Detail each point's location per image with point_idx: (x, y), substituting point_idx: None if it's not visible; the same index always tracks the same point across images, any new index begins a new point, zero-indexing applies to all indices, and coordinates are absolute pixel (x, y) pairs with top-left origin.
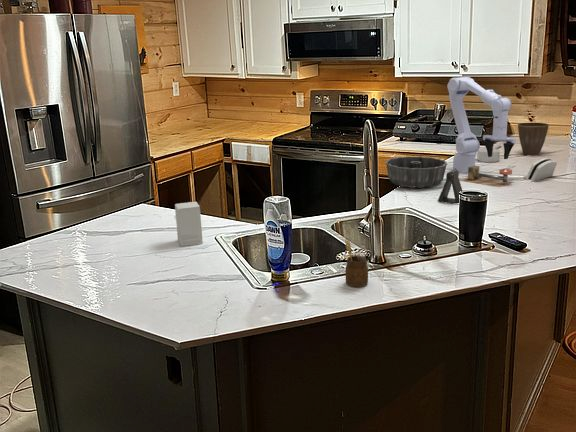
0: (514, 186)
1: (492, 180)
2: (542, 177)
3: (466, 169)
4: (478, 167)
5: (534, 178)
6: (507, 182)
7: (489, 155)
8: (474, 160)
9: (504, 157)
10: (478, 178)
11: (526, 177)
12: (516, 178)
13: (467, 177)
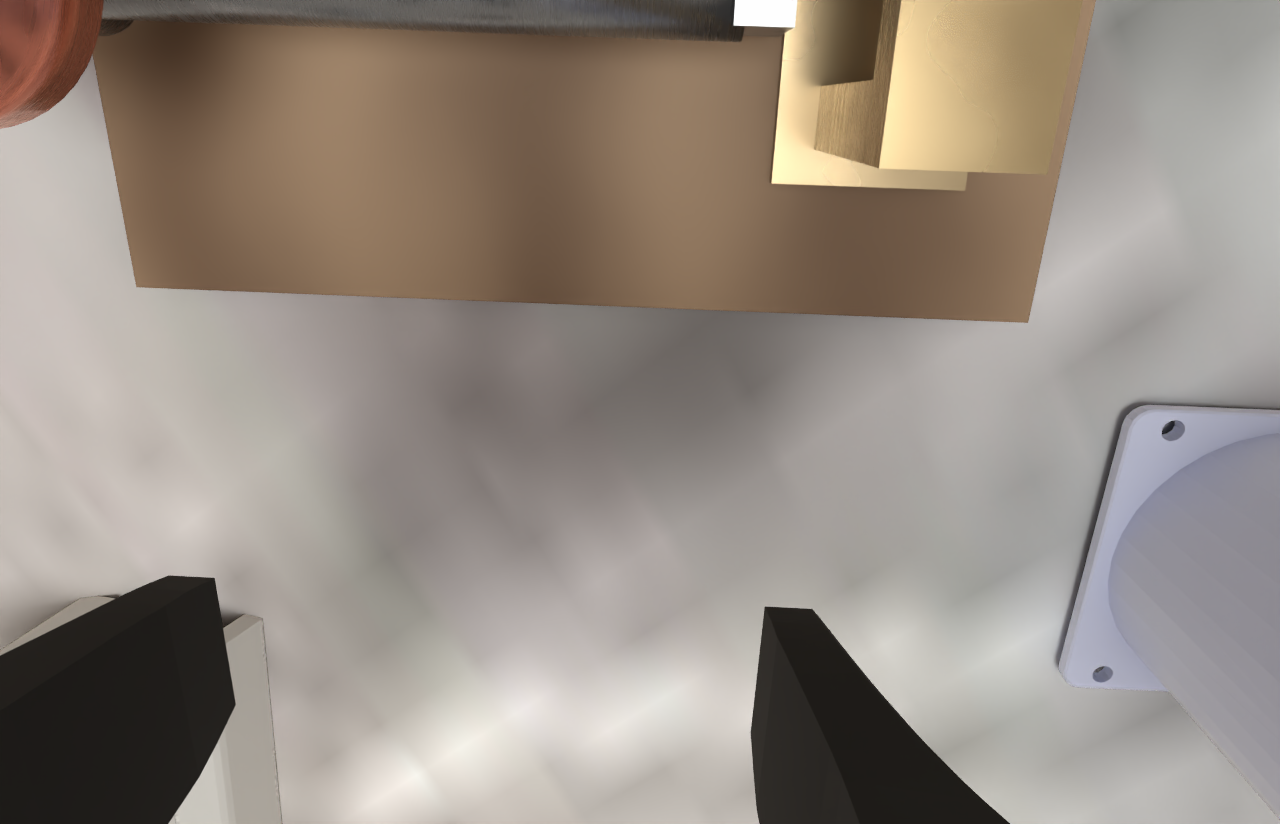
0: None
1: (510, 165)
2: None
3: (1275, 484)
4: (879, 113)
5: (23, 636)
6: (201, 185)
7: (772, 635)
8: (1268, 741)
9: (158, 597)
10: (799, 98)
11: None
12: (382, 651)
13: (1064, 101)
